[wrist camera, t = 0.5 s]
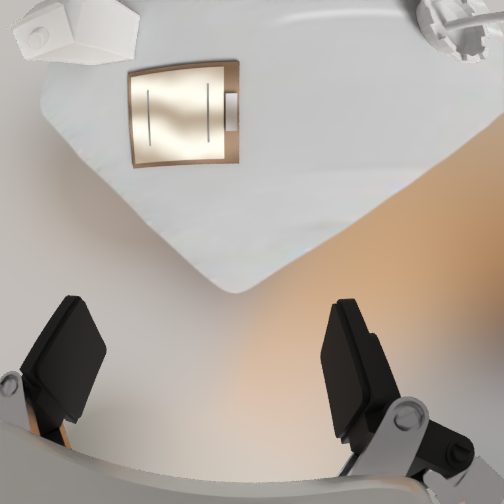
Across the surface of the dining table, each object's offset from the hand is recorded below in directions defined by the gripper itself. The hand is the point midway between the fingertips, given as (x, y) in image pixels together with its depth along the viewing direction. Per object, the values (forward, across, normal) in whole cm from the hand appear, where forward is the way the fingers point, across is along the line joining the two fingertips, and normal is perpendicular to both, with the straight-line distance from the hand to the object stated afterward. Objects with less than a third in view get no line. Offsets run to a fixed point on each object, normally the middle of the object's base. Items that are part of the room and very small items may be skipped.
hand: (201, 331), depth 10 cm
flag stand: (+31, -32, -26) cm, 51 cm away
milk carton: (+31, +17, -20) cm, 40 cm away
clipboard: (+30, +7, -7) cm, 32 cm away
